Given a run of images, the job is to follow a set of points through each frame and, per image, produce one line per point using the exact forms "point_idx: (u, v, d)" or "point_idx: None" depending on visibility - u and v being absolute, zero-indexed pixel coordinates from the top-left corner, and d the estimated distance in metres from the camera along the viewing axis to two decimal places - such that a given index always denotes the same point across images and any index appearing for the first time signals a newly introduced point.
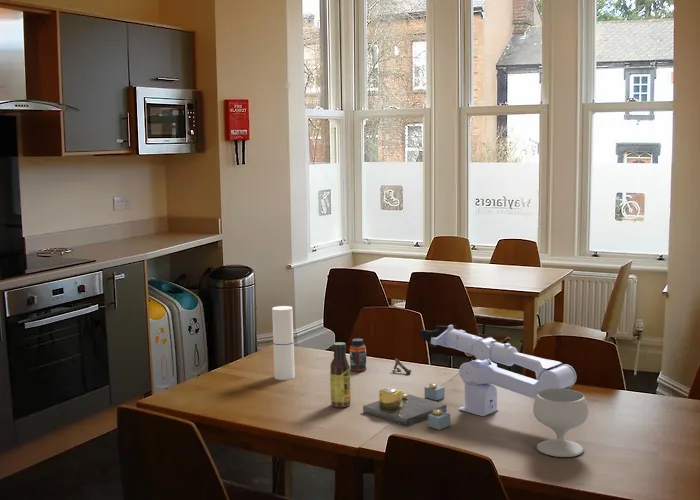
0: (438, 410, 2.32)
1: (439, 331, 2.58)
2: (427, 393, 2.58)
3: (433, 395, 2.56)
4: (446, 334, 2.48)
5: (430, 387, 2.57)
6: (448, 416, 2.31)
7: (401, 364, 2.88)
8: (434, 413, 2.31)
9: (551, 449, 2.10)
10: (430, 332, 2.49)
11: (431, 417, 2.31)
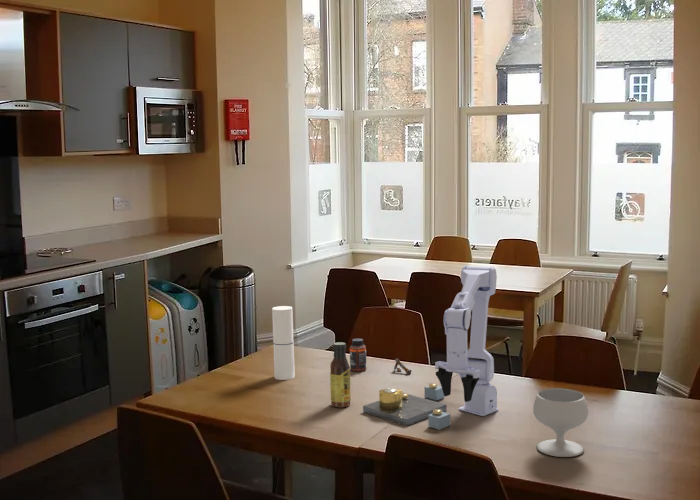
0: (438, 410, 2.32)
1: (448, 389, 2.29)
2: (427, 393, 2.58)
3: (433, 395, 2.56)
4: (459, 368, 2.22)
5: (430, 387, 2.57)
6: (448, 416, 2.31)
7: (401, 364, 2.88)
8: (434, 413, 2.31)
9: (551, 449, 2.10)
10: (468, 384, 2.20)
11: (431, 417, 2.31)
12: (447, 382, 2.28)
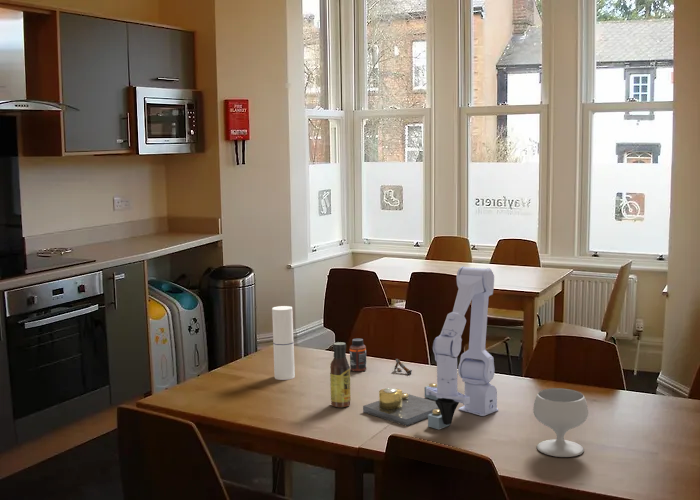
0: (438, 410, 2.32)
1: None
2: None
3: None
4: (449, 394, 2.26)
5: None
6: None
7: (402, 364, 2.88)
8: (434, 413, 2.31)
9: (551, 449, 2.10)
10: (448, 407, 2.26)
11: (431, 417, 2.31)
12: None
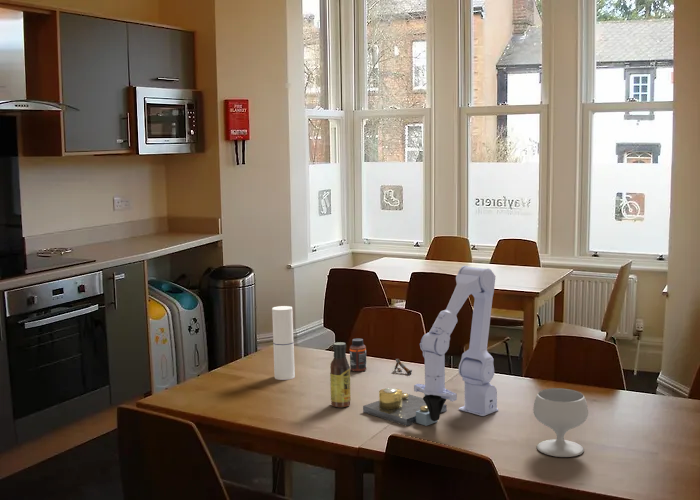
0: (425, 406, 2.36)
1: None
2: None
3: None
4: (437, 391, 2.29)
5: None
6: None
7: (402, 364, 2.88)
8: (421, 409, 2.35)
9: (551, 449, 2.10)
10: (436, 404, 2.29)
11: (418, 413, 2.34)
12: None
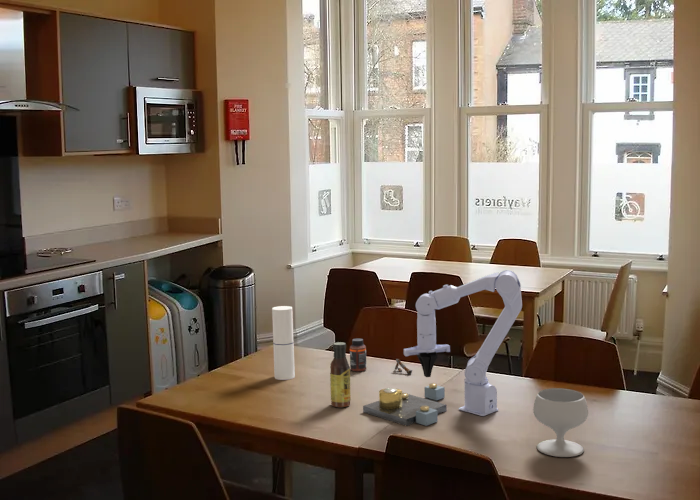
0: (425, 406, 2.36)
1: None
2: (427, 393, 2.58)
3: (433, 395, 2.56)
4: (435, 347, 2.46)
5: (430, 387, 2.57)
6: (435, 412, 2.35)
7: (402, 364, 2.88)
8: (421, 409, 2.35)
9: (551, 449, 2.10)
10: None
11: (418, 413, 2.34)
12: None
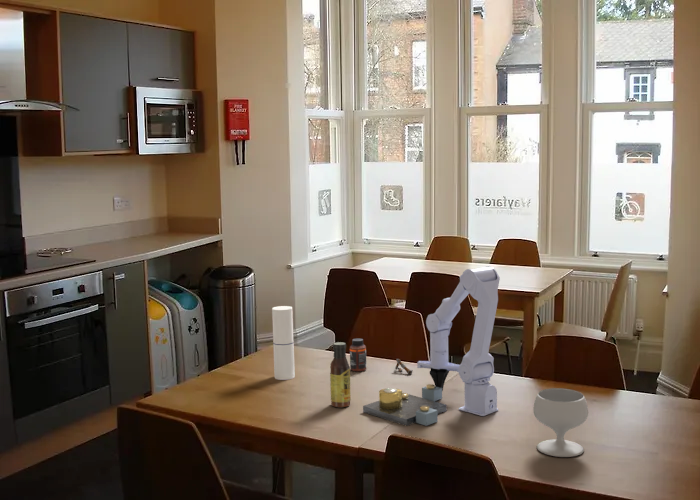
0: (425, 406, 2.36)
1: None
2: (424, 394, 2.57)
3: (431, 396, 2.55)
4: (444, 365, 2.56)
5: (427, 388, 2.56)
6: (435, 412, 2.35)
7: (402, 364, 2.88)
8: (421, 409, 2.35)
9: (551, 449, 2.10)
10: (443, 376, 2.57)
11: (418, 413, 2.34)
12: None
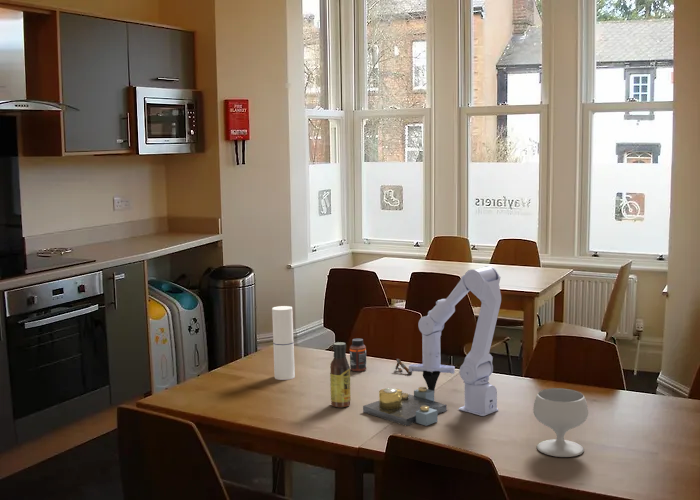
0: (425, 406, 2.36)
1: None
2: None
3: None
4: (438, 367, 2.54)
5: (419, 391, 2.53)
6: (435, 412, 2.35)
7: (402, 364, 2.88)
8: (421, 409, 2.35)
9: (551, 449, 2.10)
10: (437, 378, 2.54)
11: (418, 413, 2.34)
12: (431, 382, 2.57)
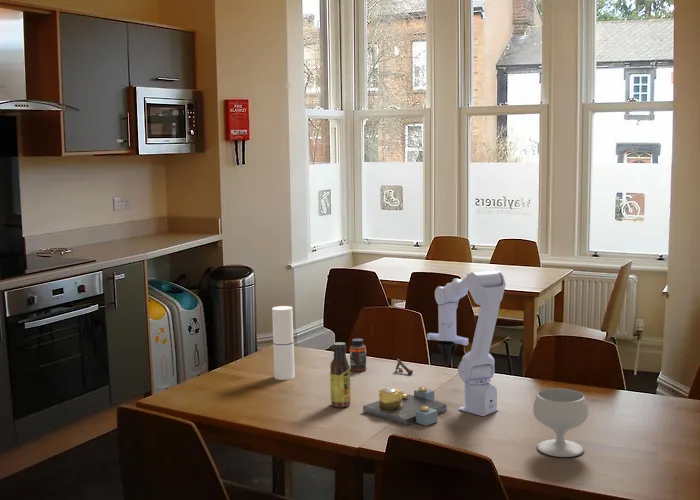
0: (425, 406, 2.36)
1: None
2: None
3: None
4: (450, 337, 2.58)
5: (420, 391, 2.53)
6: (435, 412, 2.35)
7: (403, 364, 2.88)
8: (421, 409, 2.35)
9: (551, 449, 2.10)
10: (450, 349, 2.58)
11: (418, 413, 2.34)
12: None
